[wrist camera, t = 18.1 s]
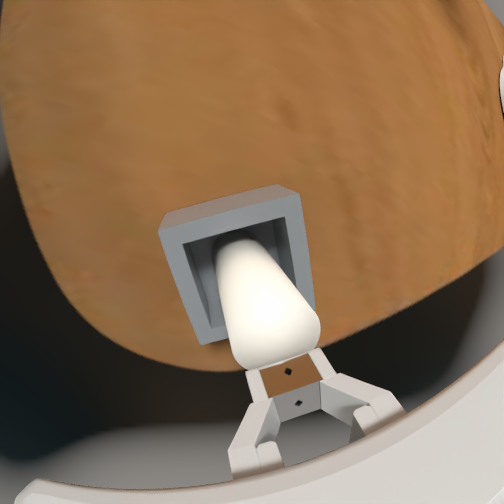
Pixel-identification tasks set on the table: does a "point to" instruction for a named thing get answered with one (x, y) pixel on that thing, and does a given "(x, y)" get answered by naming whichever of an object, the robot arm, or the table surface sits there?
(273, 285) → the cream peg
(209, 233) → the sleeve holder
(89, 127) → the table surface
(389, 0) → the table surface
